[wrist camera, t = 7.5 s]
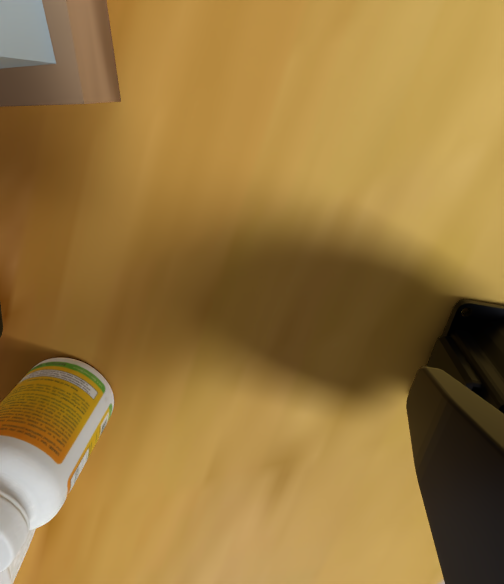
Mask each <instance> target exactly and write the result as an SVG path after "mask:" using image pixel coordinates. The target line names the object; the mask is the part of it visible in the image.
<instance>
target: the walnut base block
mask: <svg viewBox="0 0 504 584" xmlns="http://www.w3.org/2000/svg"><path fill="white" fill-rule="evenodd" d="M42 3H43V8H44V12H45V16H46V21H47V25H48V30H49V34H50V38H51V43H52V47H53V52H54V56H55V60H56V64H47V65H35V66H24V67H12V68H1V69H0V107H2V106H32V105H63V104H89V103H104V102H120V101H121V98H120V91H119V84H118V77H117V70H116V63H115V56H114V49H113V43H112V36H111V29H110V22H109V15H108V8H107V1H106V0H42Z"/></svg>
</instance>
